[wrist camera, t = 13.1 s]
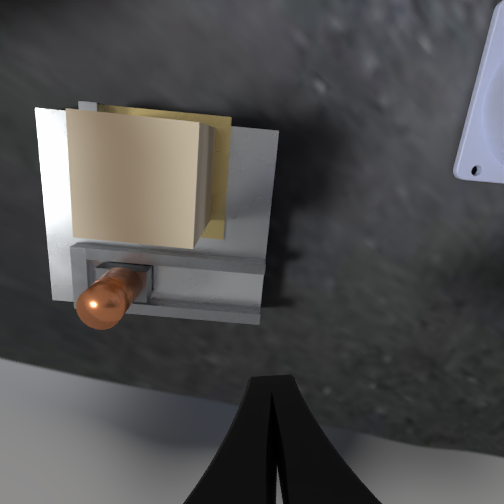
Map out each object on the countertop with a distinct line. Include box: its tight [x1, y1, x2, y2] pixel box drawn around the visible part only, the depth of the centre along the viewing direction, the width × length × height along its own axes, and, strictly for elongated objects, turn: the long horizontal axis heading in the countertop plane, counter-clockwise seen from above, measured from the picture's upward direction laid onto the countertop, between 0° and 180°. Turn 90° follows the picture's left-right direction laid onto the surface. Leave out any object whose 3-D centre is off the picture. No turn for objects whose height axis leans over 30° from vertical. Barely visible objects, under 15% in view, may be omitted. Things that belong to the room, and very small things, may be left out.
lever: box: [76, 262, 152, 330], centre depth 17 cm, size 3×2×4 cm
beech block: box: [65, 108, 216, 249], centre depth 15 cm, size 4×4×5 cm
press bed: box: [35, 101, 279, 325], centre depth 18 cm, size 12×10×2 cm
